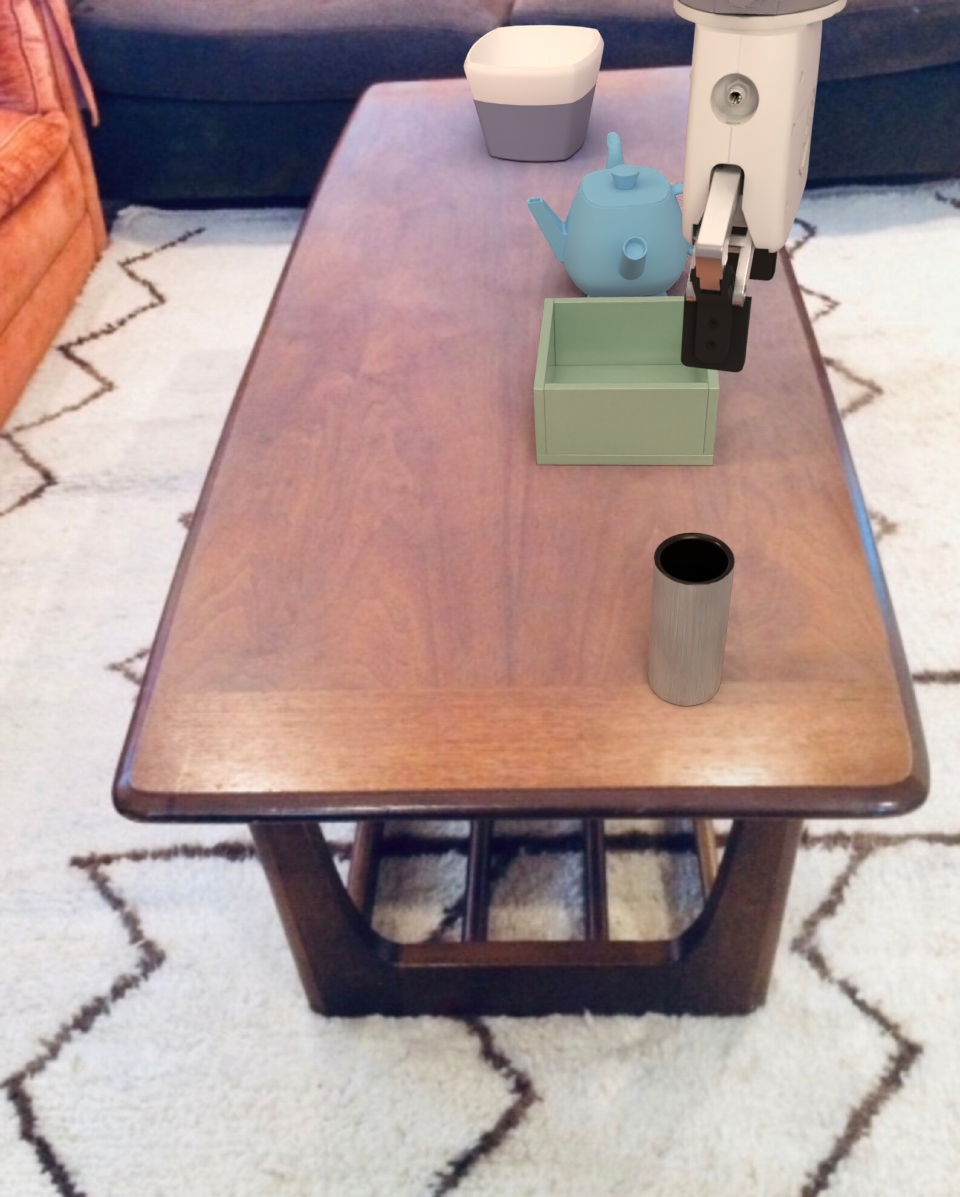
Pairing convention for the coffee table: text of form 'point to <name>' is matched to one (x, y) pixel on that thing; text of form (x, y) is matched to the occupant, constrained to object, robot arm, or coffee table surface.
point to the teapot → (619, 230)
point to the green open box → (620, 385)
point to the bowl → (534, 89)
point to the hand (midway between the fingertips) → (729, 319)
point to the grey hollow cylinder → (689, 617)
